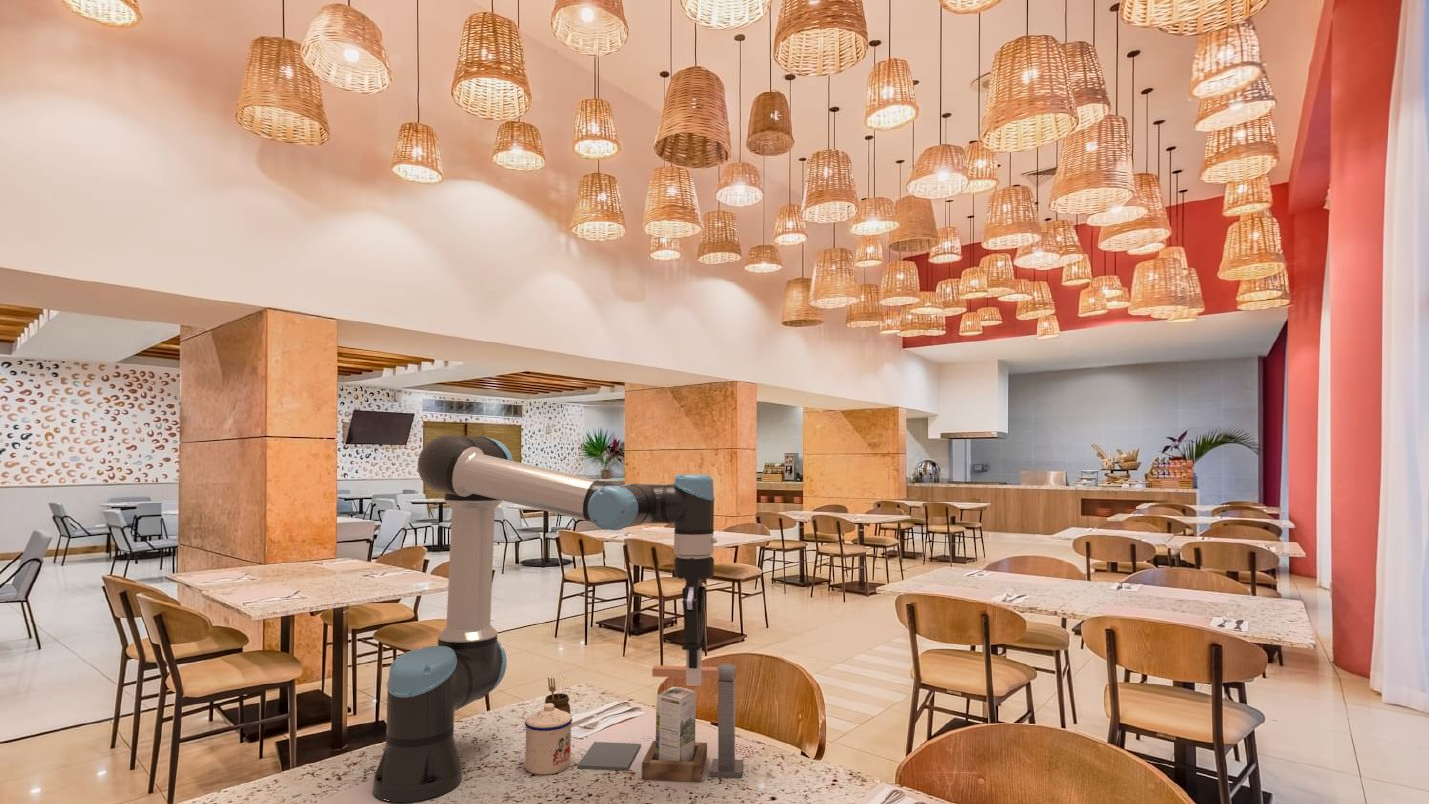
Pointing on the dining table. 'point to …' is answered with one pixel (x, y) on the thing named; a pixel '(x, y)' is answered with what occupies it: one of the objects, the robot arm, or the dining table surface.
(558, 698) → the utensil holder
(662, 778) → the socket collar
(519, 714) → the dining table surface
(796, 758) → the dining table surface
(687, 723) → the syrup box
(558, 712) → the teacup with lid
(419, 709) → the robot arm
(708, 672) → the bar
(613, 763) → the slate mat
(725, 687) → the clip post
